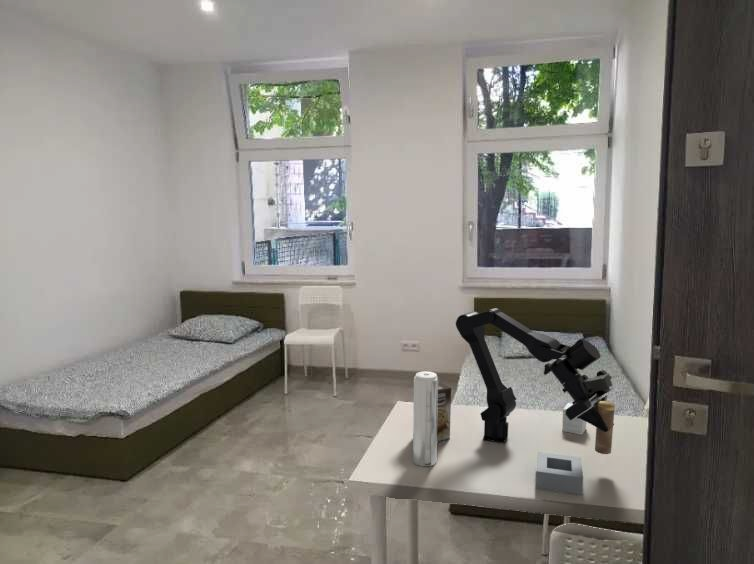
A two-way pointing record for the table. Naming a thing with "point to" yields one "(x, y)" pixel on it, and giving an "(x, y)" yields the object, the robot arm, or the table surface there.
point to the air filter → (425, 418)
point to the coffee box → (443, 412)
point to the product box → (573, 423)
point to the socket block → (559, 473)
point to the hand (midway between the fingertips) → (610, 428)
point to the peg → (607, 414)
